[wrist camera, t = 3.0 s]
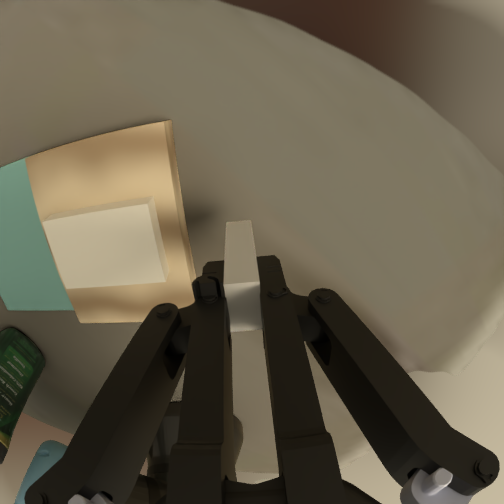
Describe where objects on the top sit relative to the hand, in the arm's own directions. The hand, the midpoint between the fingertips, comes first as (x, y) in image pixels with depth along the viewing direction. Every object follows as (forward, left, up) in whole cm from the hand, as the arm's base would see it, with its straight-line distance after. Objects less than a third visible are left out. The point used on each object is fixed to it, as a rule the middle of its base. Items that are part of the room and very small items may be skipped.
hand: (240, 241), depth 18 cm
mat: (0, +23, -5) cm, 23 cm away
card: (0, +10, -3) cm, 11 cm away
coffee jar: (-15, +32, -6) cm, 36 cm away
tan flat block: (0, +10, -5) cm, 12 cm away
